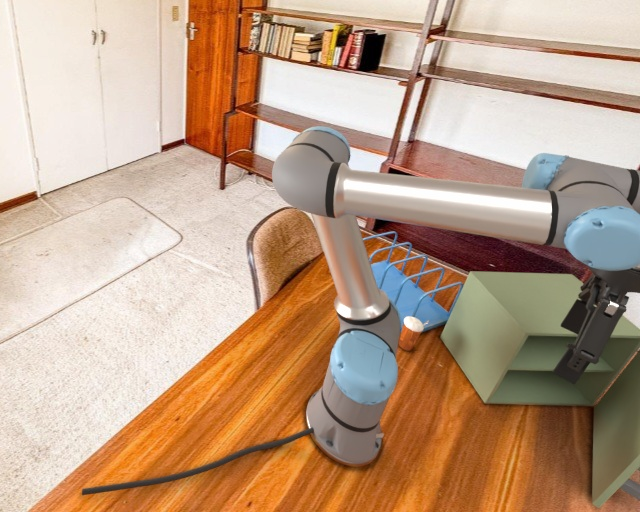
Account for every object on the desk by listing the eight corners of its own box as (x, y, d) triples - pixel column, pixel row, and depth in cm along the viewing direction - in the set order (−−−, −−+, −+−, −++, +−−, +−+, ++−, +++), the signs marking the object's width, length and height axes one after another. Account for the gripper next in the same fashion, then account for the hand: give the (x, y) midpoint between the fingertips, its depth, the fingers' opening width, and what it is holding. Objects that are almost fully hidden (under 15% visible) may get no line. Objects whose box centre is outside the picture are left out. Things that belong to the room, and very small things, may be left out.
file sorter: (344, 275, 128) (354, 237, 121) (385, 264, 134) (398, 227, 127) (406, 338, 107) (423, 296, 100) (452, 322, 112) (471, 281, 106)
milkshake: (420, 355, 102) (432, 328, 98) (398, 351, 103) (409, 324, 99) (414, 340, 106) (425, 313, 102) (393, 336, 107) (403, 310, 103)
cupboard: (593, 406, 92) (648, 336, 82) (484, 403, 92) (526, 332, 81) (532, 339, 108) (571, 274, 98) (439, 337, 108) (470, 271, 98)
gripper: (675, 317, 49) (593, 419, 59) (661, 234, 66) (598, 324, 75) (594, 285, 54) (530, 384, 63) (599, 215, 70) (547, 302, 80)
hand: (566, 352), depth 69 cm, fingers open, 13 cm apart
